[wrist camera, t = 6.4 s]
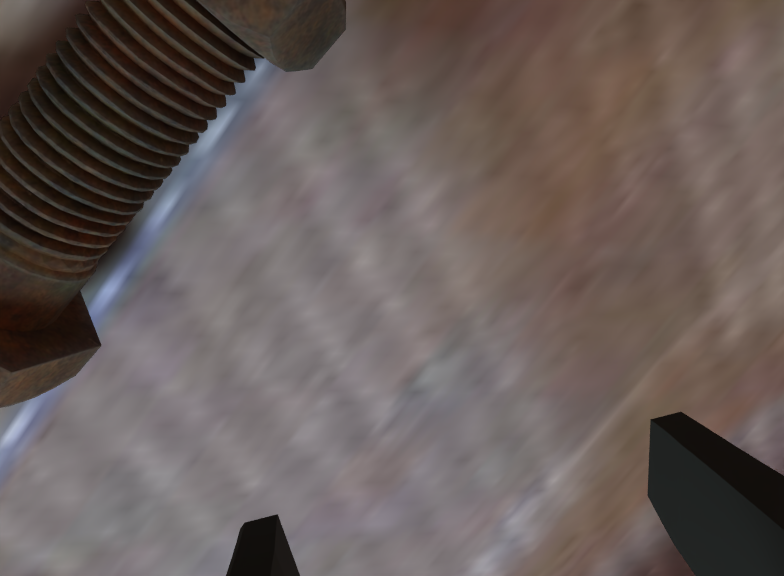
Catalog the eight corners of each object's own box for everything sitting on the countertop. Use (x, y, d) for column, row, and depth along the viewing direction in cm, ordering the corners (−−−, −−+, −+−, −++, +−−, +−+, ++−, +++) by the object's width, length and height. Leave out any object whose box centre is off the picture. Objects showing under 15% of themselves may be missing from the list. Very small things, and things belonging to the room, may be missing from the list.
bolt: (380, -167, 16) (29, 274, 19) (229, -403, 12) (-189, 212, 15) (534, -83, 12) (81, 431, 16) (402, -367, 8) (-179, 408, 11)
